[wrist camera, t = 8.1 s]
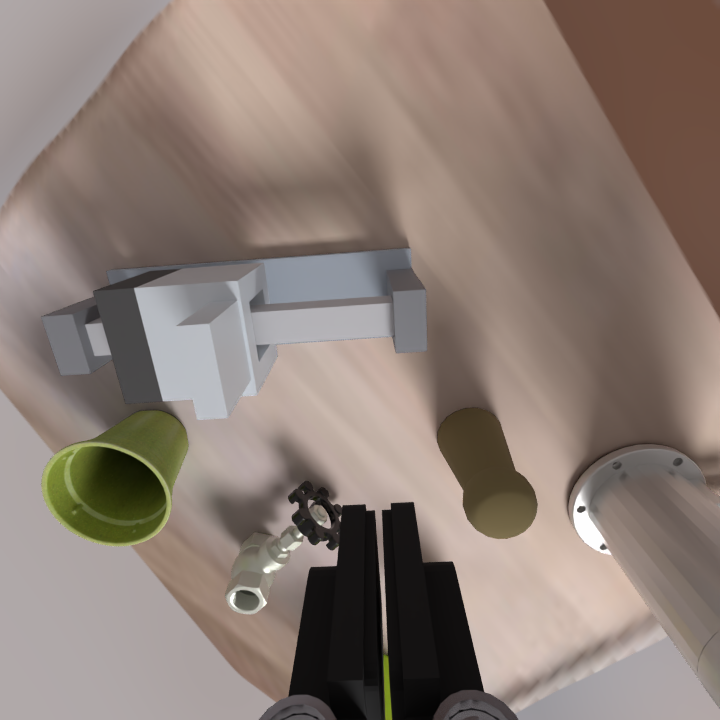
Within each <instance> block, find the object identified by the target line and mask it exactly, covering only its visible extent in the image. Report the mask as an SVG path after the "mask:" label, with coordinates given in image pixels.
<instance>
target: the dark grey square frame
mask: <svg viewBox="0 0 720 720" xmlns="http://www.w3.org/2000/svg"><path fill="white" fill-rule="evenodd" d="M178 270H180V269H170V270H156V271H148V272H146V273H143V274H140V275H137V276H134V277H131V278H129V279H126V280H123V281H120V282H117V283H115V284H112V285H109V286H106V287H103V288H100V289H98V290H95V291H93V293H94V297H95V300H96V304H97V307H98V311H99V314H100V317H101V321H102V324H103V328H104V331H105V335H106V338H107V342H108V345H109V348H110V352H111V355H112V359H113V362H114V366H115V369H116V373H117V376H118V379H119V383H120V386H121V390H122V393H123V397H124V400H125V404H132V403H147V402H162V401H163V400H162V396H161V392H160V388H159V384H158V380H157V376H156V372H155V368H154V365H153V361H152V357H151V353H150V349H149V345H148V341H147V337H146V333H145V329H144V325H143V322H142V318H141V314H140V310H139V306H138V302H137V298H136V294H135V290H134V288H136V287H138V286H141V285H143V284H146V283H148V282H151V281H153V280H155V279H158V278H160V277H163V276H165V275H168V274H170V273H173V272H175V271H178Z"/></svg>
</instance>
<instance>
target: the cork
mask: <svg viewBox="0 0 720 720" xmlns="http://www.w3.org/2000/svg"><path fill="white" fill-rule="evenodd" d="M437 443H438V445H439V448H440V451H441V453H442V454H443V456H444V458H445V460H446V461H447V463H448V465H449V466H450V468H451V470H452V472H453V473H454V475H455V477H456V478H457V480H458V482H459V484H460V485H461V487H462V489H463V490H464V491H463V507H464V511H465V513H466V516H467V519H468V520H469V522H470V523H471V524H472V525H473V527H474V528H475V529H476V530H477V531H479V532H481V533H482V534H484V535H486V536H488V537H492V538H496V539H507V538H511V537H515V536H517V535H519V534H521V533H523V532H524V531H526V530H527V529H528V528H529V527H530V526H531V524H532V522H533V520H534V519H535V516H536V513H537V505H538V504H537V499H536V495H535V491H534V489H533V488H532V486H531V485H530V483H529V482H528V481H527V479H526V478H525V477H524V476H523V475H521V474H520V473H518V472H517V471H516V470H515V467H514V464H513V461H512V458H511V455H510V452H509V449H508V446H507V443H506V440H505V437H504V434H503V430H502V427H501V424H500V422H499V421H498V420H497V418H496V417H495V416H494V415H493V414H491V413H490V412H488V411H487V410H483V409H479V408H465V409H462V410H459V411H456V412H454V413H453V414H451V415H450V416H448V417H447V418H446V419H445V421H444V422H443V423H442V424H441V426H440V429H439V431H438V437H437Z"/></svg>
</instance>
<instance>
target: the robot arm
mask: <svg viewBox="0 0 720 720" xmlns="http://www.w3.org/2000/svg"><path fill="white" fill-rule="evenodd" d="M568 508H569V517H570V520H571V524H572V526H573V527H574V529H575V531H576V532H577V534H578V535H579V537H580V538H581V539H582V540H583V542H585V543H586V544H587V545H588V546H590V547H591V548H593V549H595V550H597V551H599V552H601V553H605V554H609V555H612V556H613V557H614V559H615V560H616V562H617V563H618V564H619V566H620V567H621V569H622V570H623V572H624V573H625V575H626V576H627V577H628V579H629V580H630V582H631V583H632V585H633V586H634V587H635V589H636V590H637V592H638V593H639V595H640V596H641V597H642V599H643V600H644V602H645V603H646V605H647V606H648V607H649V609H650V610H651V612H652V613H653V615H654V616H655V618H656V619H657V620H658V622H659V623H660V625H661V626H662V628H663V629H664V630H665V632H666V633H667V635H668V636H669V637H670V639H671V640H672V642H673V643H674V645H675V646H676V648H677V649H678V650H679V652H680V653H681V655H682V656H683V658H684V659H685V661H686V662H687V663H688V665H689V666H690V668H691V669H692V670H693V672H694V673H695V675H696V676H697V678H698V679H699V681H700V682H701V683H702V685H703V687H704V688H705V689H706V691H707V692H708V694H709V695H710V697H711V698H712V699H713V701H714V702H715V704H716V705H717V706H718V707H719V709H720V496H719V495H717V494H715V493H714V492H713V491H712V490H710V489H709V488H708V487H707V485H706V479H705V477H704V475H703V473H702V471H701V469H700V468H699V467H698V466H697V465H696V463H695V462H694V461H692V460H691V459H690V458H689V457H687V456H686V455H685V454H683V453H681V452H680V451H678V450H676V449H674V448H671V447H667V446H664V445H656V444H641V445H634V446H629V447H625V448H622V449H619V450H616V451H614V452H611V453H609V454H608V455H606V456H604V457H602V458H601V459H599V460H598V461H596V462H595V463H594V464H593V465H591V466H590V467H589V468H588V469H587V470H586V471H585V472H584V473H583V474H582V475H581V477H580V478H579V480H578V481H577V483H576V484H575V486H574V488H573V490H572V493H571V495H570V500H569V506H568ZM382 521H383V545H384V569H385V593H386V616H387V640H388V663H389V682H390V697H391V711H392V720H518V718H517V717H516V715H515V714H514V713H513V712H512V711H511V710H510V709H509V708H508V706H507V705H506V704H505V703H504V702H502V701H500V700H499V699H497V698H496V697H494V696H492V695H491V694H488V693H485V692H484V689H483V685H482V681H481V676H480V672H479V668H478V664H477V659H476V655H475V651H474V647H473V642H472V638H471V634H470V630H469V625H468V621H467V617H466V613H465V608H464V604H463V600H462V596H461V591H460V587H459V583H458V579H457V574H456V570H455V567H454V564H453V562H428V563H423V561H422V554H421V548H420V541H419V534H418V528H417V521H416V514H415V507H414V502H406V503H391V510H382ZM259 720H385V692H384V660H383V629H382V602H381V587H380V574H379V560H378V546H377V533H376V519H375V510H373V511H366V505H365V504H364V505H343V506H342V515H341V526H340V538H339V549H338V560H337V566H330V567H311V568H310V570H309V574H308V580H307V586H306V592H305V598H304V604H303V610H302V616H301V623H300V629H299V635H298V641H297V647H296V653H295V659H294V665H293V672H292V678H291V684H290V690H289V696H288V697H287V698H284V699H282V700H279V701H278V702H277V703H275V704H274V705H273V706H271V707H270V708H268V709H267V711H266V712H265V713H264V714H263V715H262V717H261V718H260V719H259Z"/></svg>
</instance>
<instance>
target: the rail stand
mask: <svg viewBox="0 0 720 720" xmlns="http://www.w3.org/2000/svg"><path fill="white" fill-rule="evenodd" d="M252 263H264V265H265V272H266V279H267V285H268V292H269V299H270V304H262V305H250V311H251V317H252V323H253V329H254V335H255V341H256V345H265V344H276V345H277V344H292V343H307V342H322V341H336V340H351V339H366V338H381V337H392V338H393V342H394V347H395V351H396V353H408V352H423V351H427V316H426V289H425V287H424V286H423V284H422V283H421V281H420V280H419V279H418V277H417V276H416V274H415V273H414V271H413V270H412V268H411V248H399V249H386V250H372V251H359V252H345V253H331V254H318V255H304V256H291V257H277V258H263V259H250V260H236V261H223V262H209V263H195V264H182V265H168V266H155V267H141V268H127V269H114V270H109V271H106V272H107V276H108V280H109V283H110V285H112V284H115V283H117V282H120V281H123V280H126V279H129V278H131V277H134V276H137V275H140V274H143V273H146V272H148V271H156V270H170V269H184V268H197V267H211V266H225V265H238V264H252ZM41 319H42V322H43V324H44V327H45V330H46V333H47V336H48V339H49V342H50V345H51V348H52V351H53V354H54V357H55V360H56V363H57V366H58V369H59V372H60V374H61V376H64V375H79V374H91V373H93V372H94V371H96V370H97V369H99V368H100V367H102V366H103V365H105V364H106V363H108V362H109V361H111V360H112V355H111V352H110V348H109V345H108V342H107V338H106V335H105V331H104V328H103V324H102V321H101V317H100V314H99V311H98V307H97V304H96V300H95V297H92V298H89V299H86V300H84V301H81V302H78V303H76V304H73V305H70V306H68V307H65V308H63V309H60V310H57V311H55V312H52V313H49V314H47V315H44V316H41Z"/></svg>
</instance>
